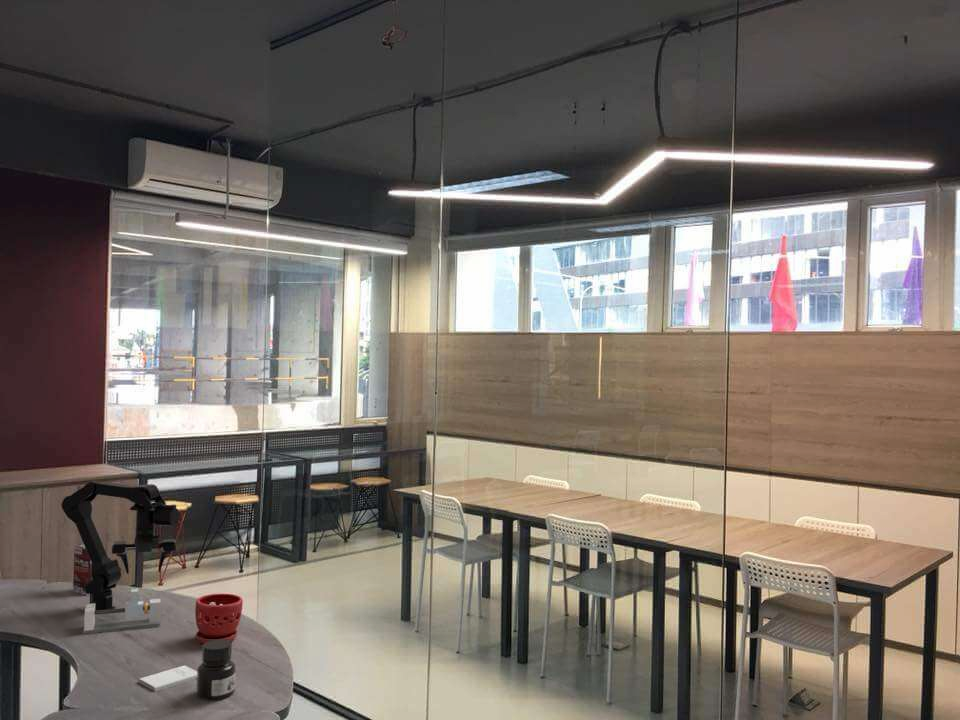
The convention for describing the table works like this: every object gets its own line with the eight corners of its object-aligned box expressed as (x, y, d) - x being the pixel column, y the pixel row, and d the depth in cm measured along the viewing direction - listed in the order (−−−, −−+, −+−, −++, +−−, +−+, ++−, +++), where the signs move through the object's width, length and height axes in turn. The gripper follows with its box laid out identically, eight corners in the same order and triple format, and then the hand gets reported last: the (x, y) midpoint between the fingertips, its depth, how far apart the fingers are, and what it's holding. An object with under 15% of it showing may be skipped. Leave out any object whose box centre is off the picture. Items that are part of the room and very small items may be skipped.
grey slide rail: (82, 634, 228) (83, 610, 228) (84, 626, 235) (85, 603, 235) (159, 626, 236) (160, 603, 236) (159, 619, 243) (160, 597, 243)
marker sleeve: (124, 617, 234) (125, 592, 234) (125, 614, 237) (126, 589, 238) (142, 616, 236) (143, 591, 236) (143, 612, 239) (143, 588, 239)
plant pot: (214, 650, 218) (215, 608, 218) (184, 641, 225) (186, 599, 225) (250, 637, 229) (252, 597, 229) (221, 628, 236) (222, 589, 236)
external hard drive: (138, 684, 195) (183, 670, 205) (154, 693, 190) (200, 678, 200) (138, 678, 195) (184, 664, 205) (154, 687, 190) (200, 672, 200)
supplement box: (71, 591, 269) (73, 546, 270) (84, 588, 274) (86, 543, 274) (88, 595, 265) (89, 549, 266) (100, 592, 270) (102, 546, 270)
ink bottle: (219, 704, 184) (221, 653, 184) (187, 699, 186) (189, 649, 186) (242, 688, 193) (244, 640, 193) (212, 683, 196) (213, 635, 196)
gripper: (111, 530, 238) (109, 581, 238) (176, 528, 245) (174, 577, 245) (114, 523, 249) (112, 572, 248) (176, 521, 255) (174, 568, 255)
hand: (143, 572), depth 249 cm, fingers open, 9 cm apart
